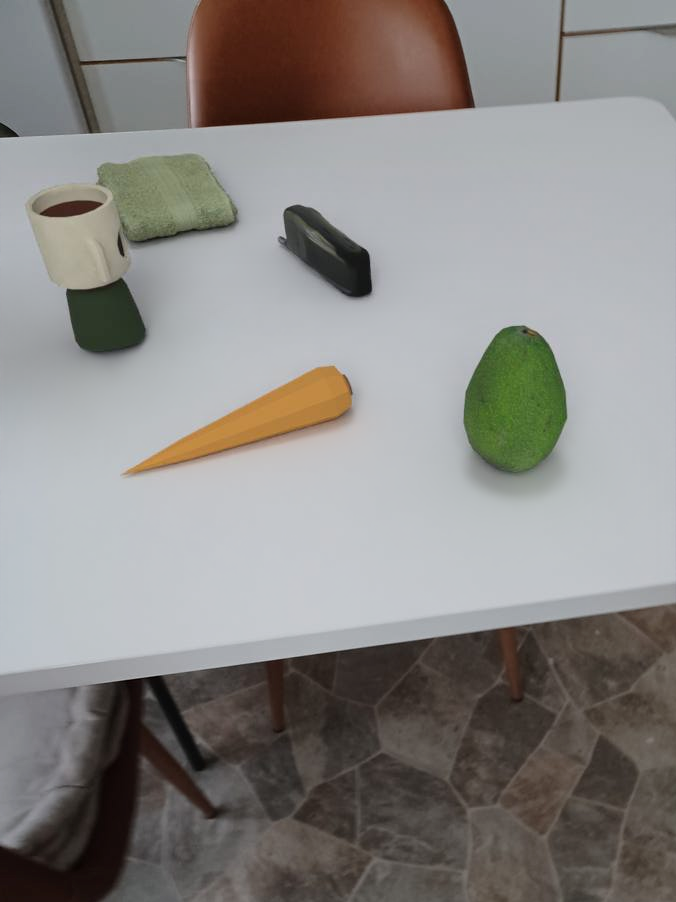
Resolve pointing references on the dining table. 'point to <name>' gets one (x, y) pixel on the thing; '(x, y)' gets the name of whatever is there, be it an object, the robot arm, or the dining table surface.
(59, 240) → the character mug
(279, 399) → the carrot
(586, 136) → the dining table surface
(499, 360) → the avocado
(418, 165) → the dining table surface
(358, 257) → the black stapler
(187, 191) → the washcloth
